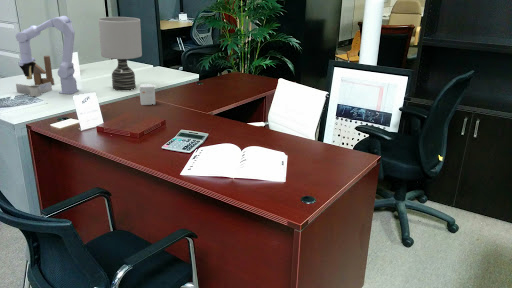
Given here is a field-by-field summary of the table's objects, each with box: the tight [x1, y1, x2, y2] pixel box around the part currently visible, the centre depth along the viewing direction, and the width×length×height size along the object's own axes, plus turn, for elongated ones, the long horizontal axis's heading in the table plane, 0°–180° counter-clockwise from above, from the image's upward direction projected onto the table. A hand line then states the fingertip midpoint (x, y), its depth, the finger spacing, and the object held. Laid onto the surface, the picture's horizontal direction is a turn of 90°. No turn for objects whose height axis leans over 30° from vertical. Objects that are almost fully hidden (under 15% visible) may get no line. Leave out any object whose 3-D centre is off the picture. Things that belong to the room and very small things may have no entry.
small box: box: [139, 83, 156, 106], centre depth 251 cm, size 8×6×10 cm
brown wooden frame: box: [32, 55, 55, 86], centre depth 277 cm, size 4×11×18 cm, turn 100°
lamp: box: [97, 16, 143, 91], centre depth 273 cm, size 24×24×42 cm
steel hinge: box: [15, 82, 53, 97], centre depth 262 cm, size 16×16×5 cm
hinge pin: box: [26, 66, 33, 80], centre depth 263 cm, size 4×4×8 cm
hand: (29, 75), depth 264 cm, fingers closed on hinge pin, 4 cm apart
